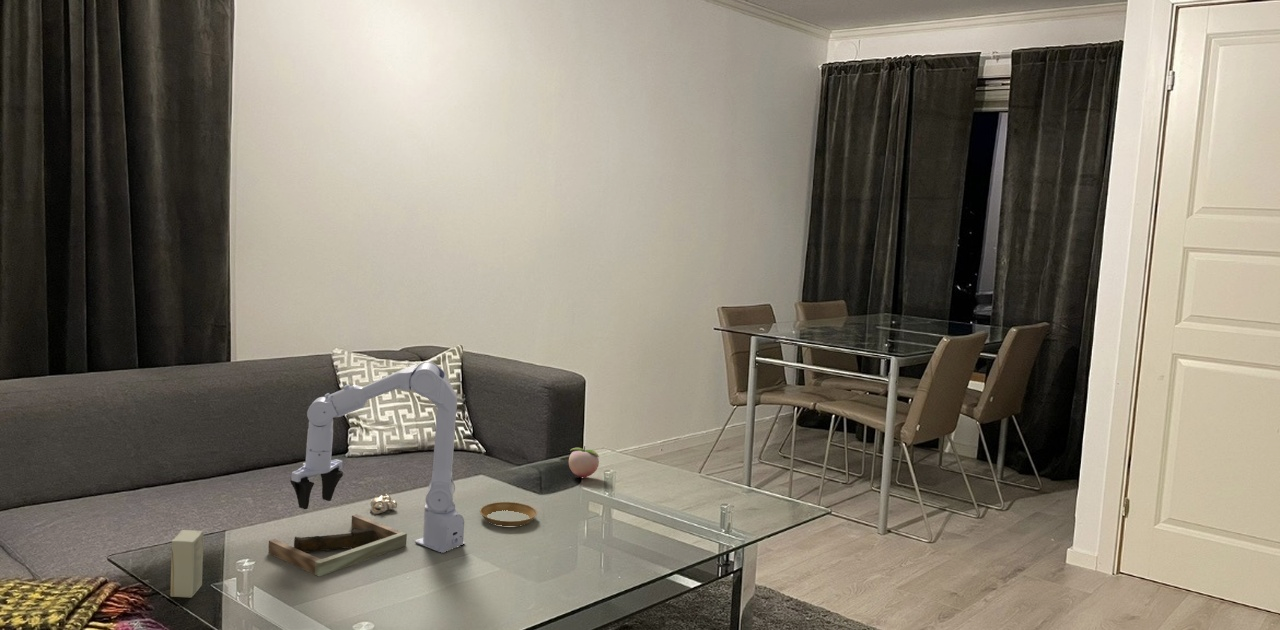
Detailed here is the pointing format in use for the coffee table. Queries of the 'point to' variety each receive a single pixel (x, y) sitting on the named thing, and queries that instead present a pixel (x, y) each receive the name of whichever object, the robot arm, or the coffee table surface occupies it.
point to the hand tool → (336, 540)
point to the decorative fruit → (583, 462)
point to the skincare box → (186, 563)
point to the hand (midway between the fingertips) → (315, 503)
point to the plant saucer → (510, 507)
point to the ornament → (382, 504)
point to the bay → (319, 567)
